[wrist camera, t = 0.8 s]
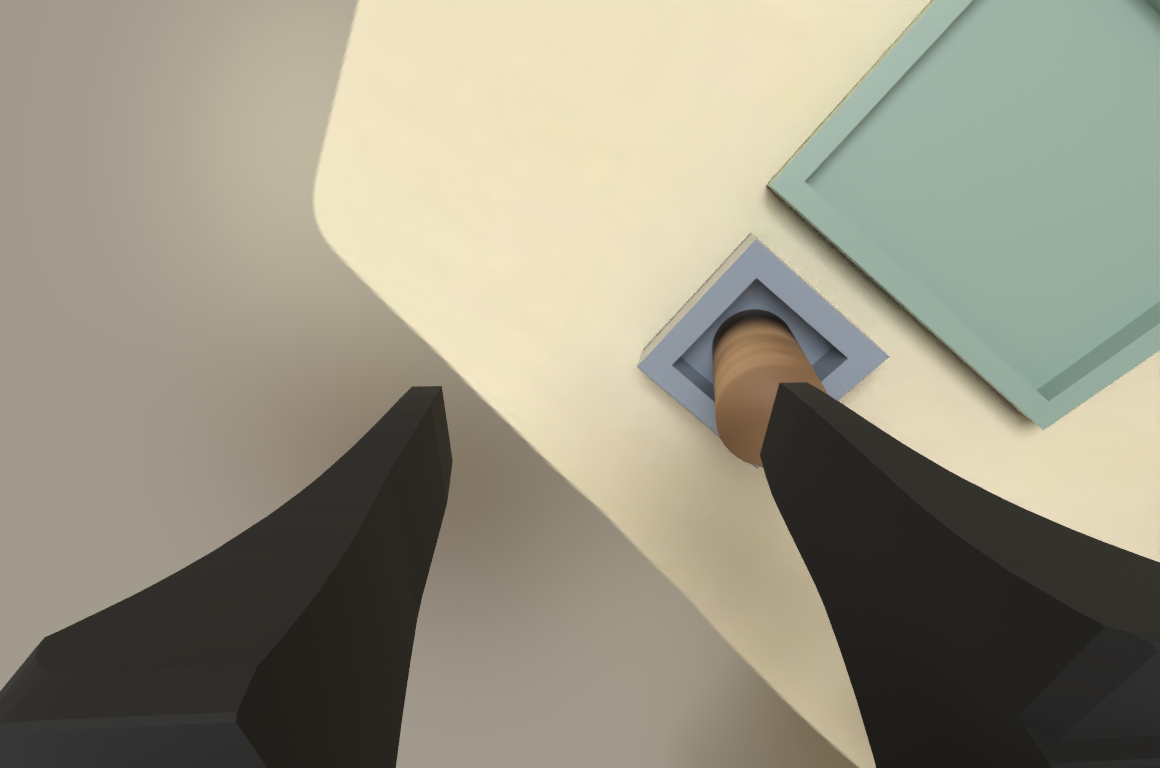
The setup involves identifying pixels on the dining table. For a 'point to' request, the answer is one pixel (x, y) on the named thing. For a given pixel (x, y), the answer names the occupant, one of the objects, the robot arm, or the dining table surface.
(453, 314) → the dining table surface
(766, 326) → the dowel
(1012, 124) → the tray
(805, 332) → the grey square recessed block
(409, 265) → the dining table surface
